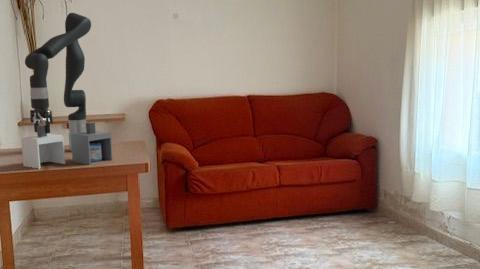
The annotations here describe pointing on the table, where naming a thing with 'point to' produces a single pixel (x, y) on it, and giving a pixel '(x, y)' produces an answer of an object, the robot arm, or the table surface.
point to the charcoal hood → (83, 147)
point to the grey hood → (42, 148)
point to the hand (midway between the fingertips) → (42, 132)
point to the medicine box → (95, 152)
